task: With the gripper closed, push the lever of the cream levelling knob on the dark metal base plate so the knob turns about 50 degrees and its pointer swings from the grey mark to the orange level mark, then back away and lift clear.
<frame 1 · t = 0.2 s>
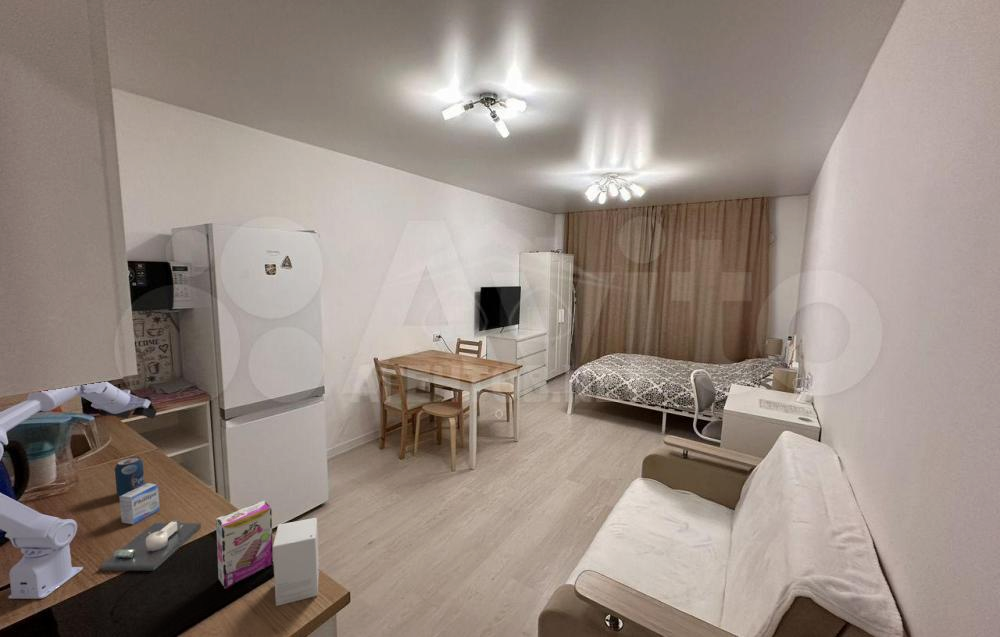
hand: (141, 414, 122), 32 cm above the table, tool tilted 50°, fingers open, 7 cm apart
soda can: (131, 494, 136), on the table
base plate: (154, 547, 111), on the table
supplement box: (298, 588, 99), on the table
medicine box: (141, 517, 124), on the table
candy bar box: (247, 573, 103), on the table
levelling knob: (163, 534, 112), point 3 cm above the table, hinge at 0.0°
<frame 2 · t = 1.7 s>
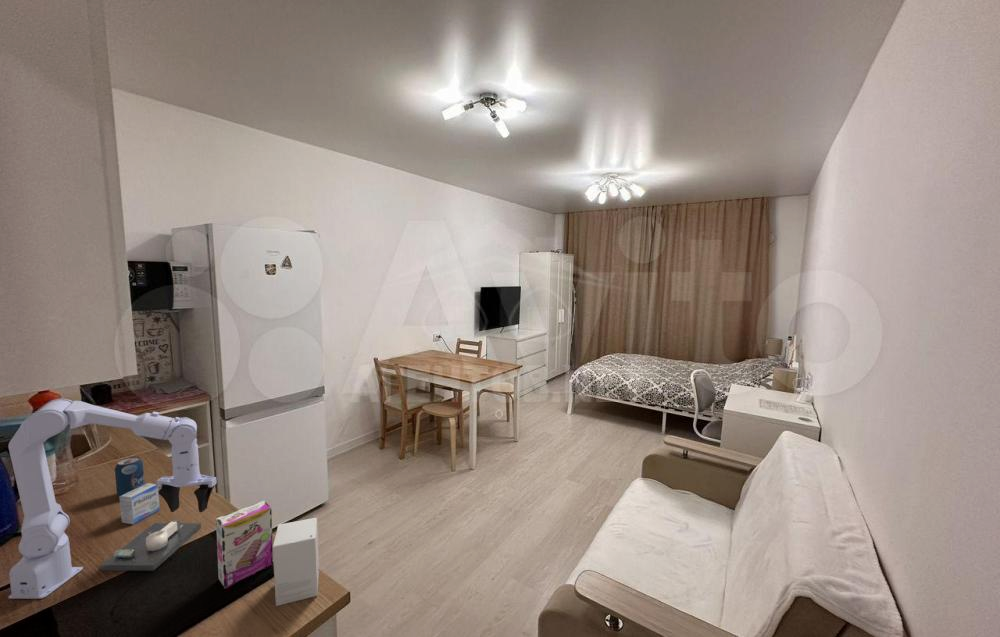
hand: (189, 510, 113), 9 cm above the table, tool pointing down, fingers open, 7 cm apart
nothing on the table moved.
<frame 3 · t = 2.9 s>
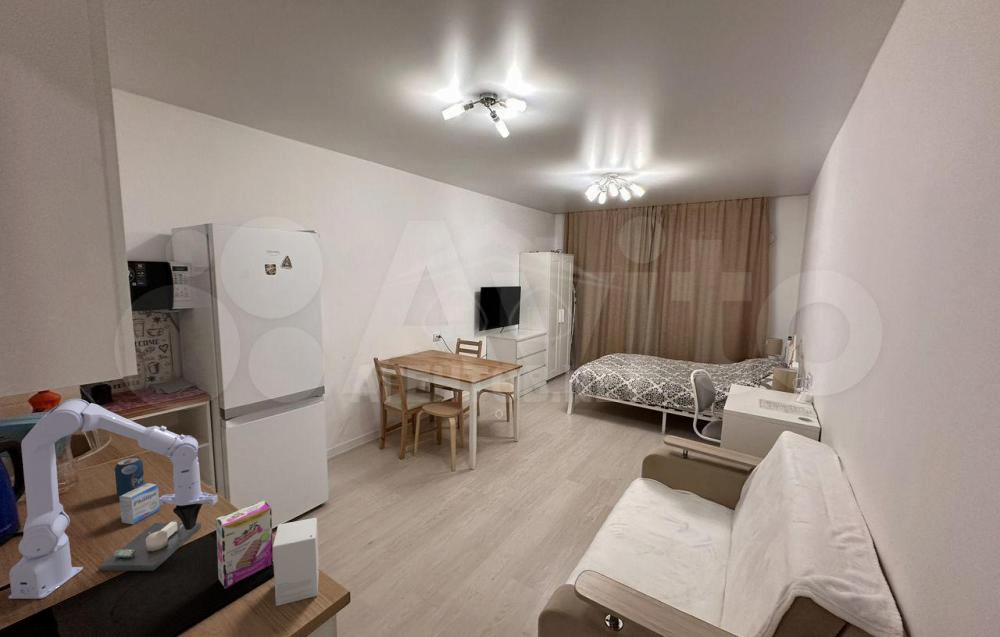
hand: (190, 527, 113), 4 cm above the table, tool pointing down, fingers closed
nothing on the table moved.
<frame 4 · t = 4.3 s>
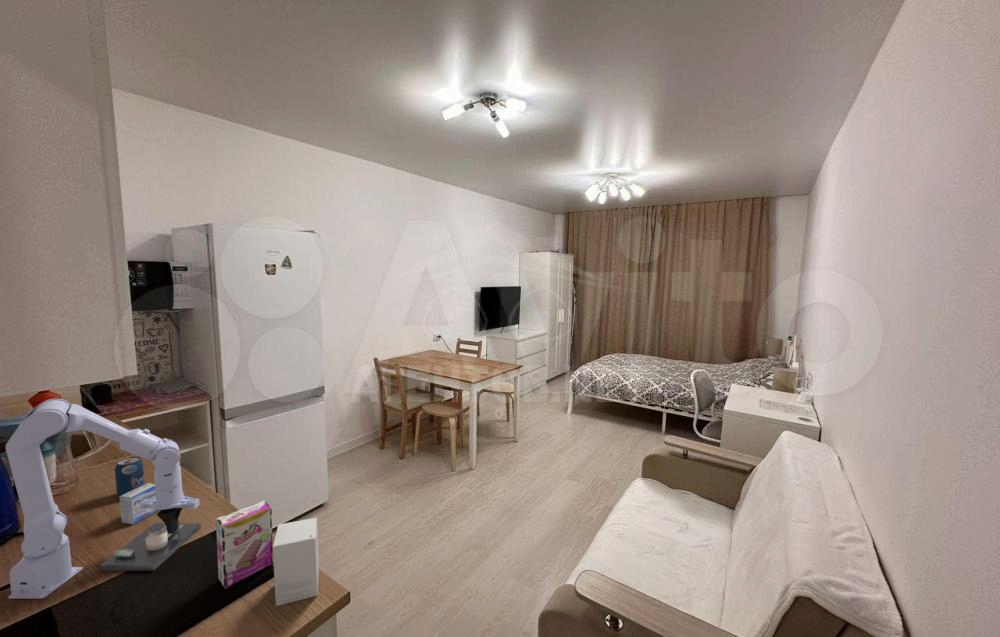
hand: (172, 531, 113), 3 cm above the table, tool pointing down, fingers closed, pressing on levelling knob
levelling knob: (163, 534, 112), point 3 cm above the table, hinge at 0.4°, touching gripper
everything else where it was.
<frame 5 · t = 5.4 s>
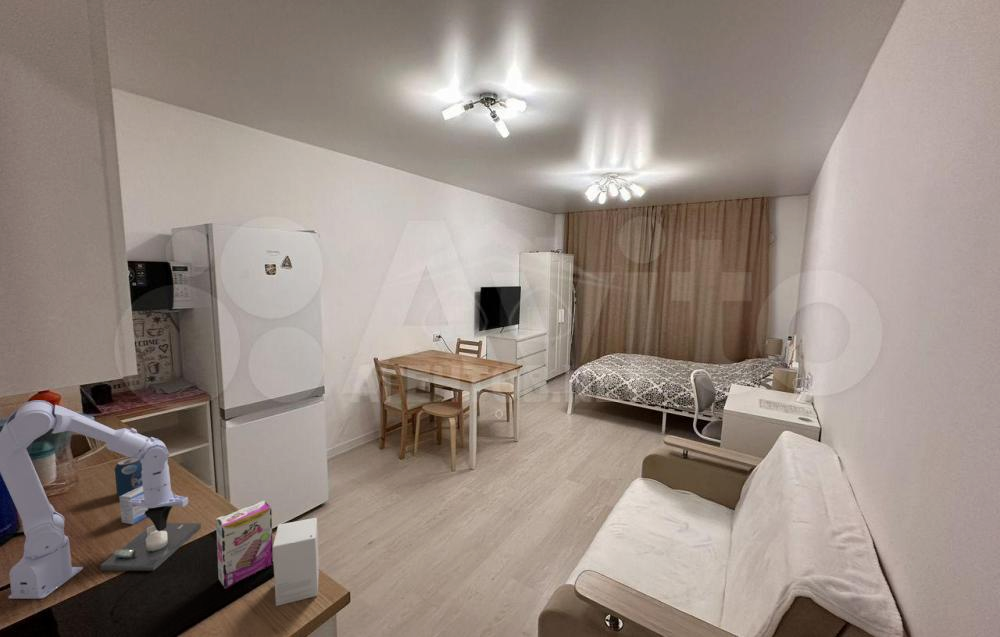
hand: (161, 529, 113), 3 cm above the table, tool pointing down, fingers closed, pressing on levelling knob
levelling knob: (154, 537, 111), point 3 cm above the table, hinge at 50.9°, touching gripper
everything else where it was.
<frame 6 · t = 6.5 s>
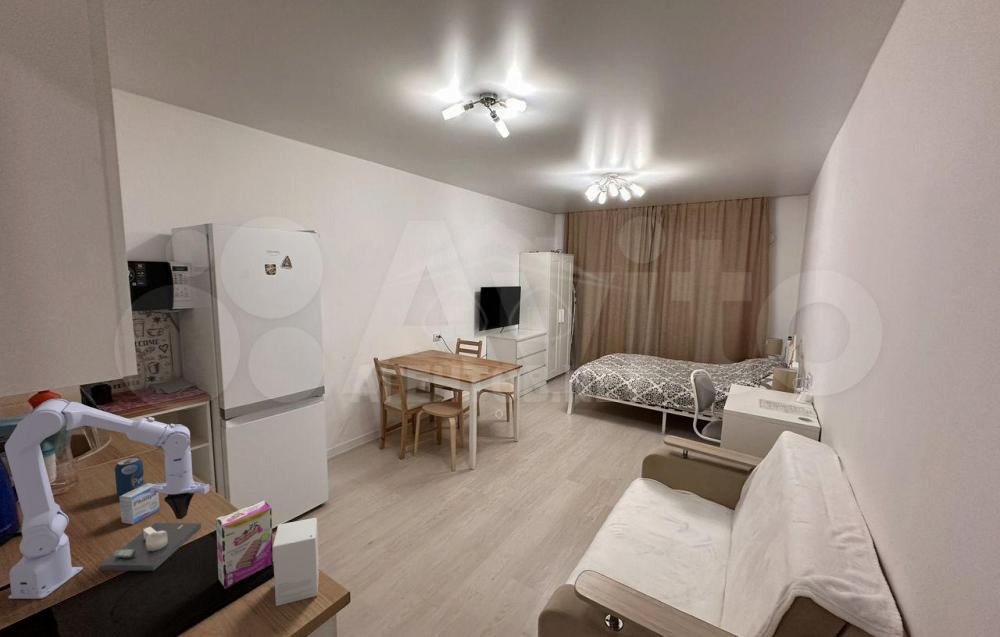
hand: (181, 517, 113), 7 cm above the table, tool pointing down, fingers closed
levelling knob: (153, 537, 110), point 3 cm above the table, hinge at 57.7°
everything else where it was.
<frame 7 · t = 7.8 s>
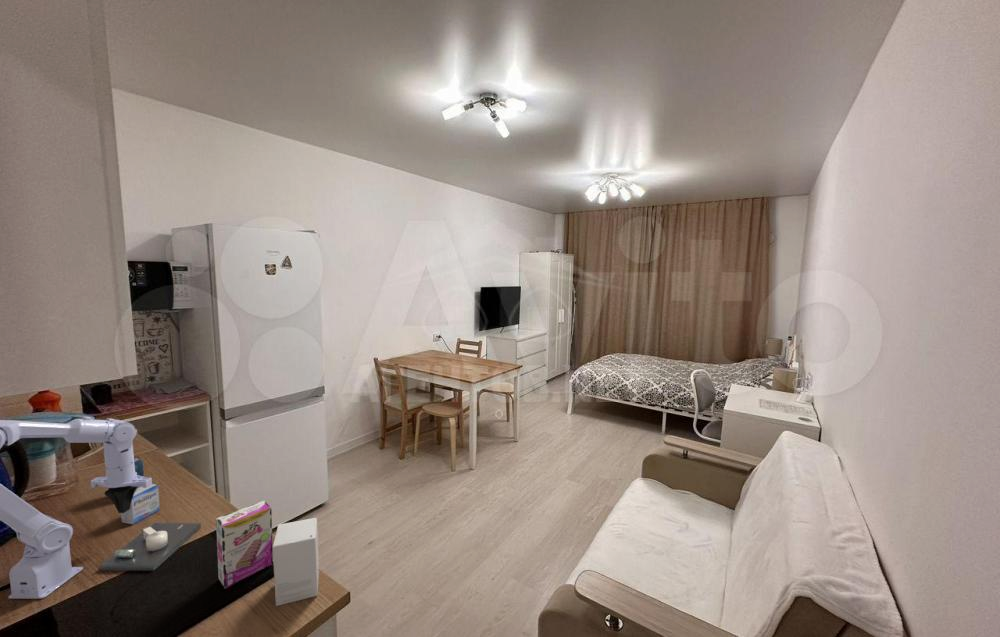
hand: (124, 510, 111), 9 cm above the table, tool pointing down, fingers closed
levelling knob: (152, 537, 110), point 3 cm above the table, hinge at 58.1°
everything else where it was.
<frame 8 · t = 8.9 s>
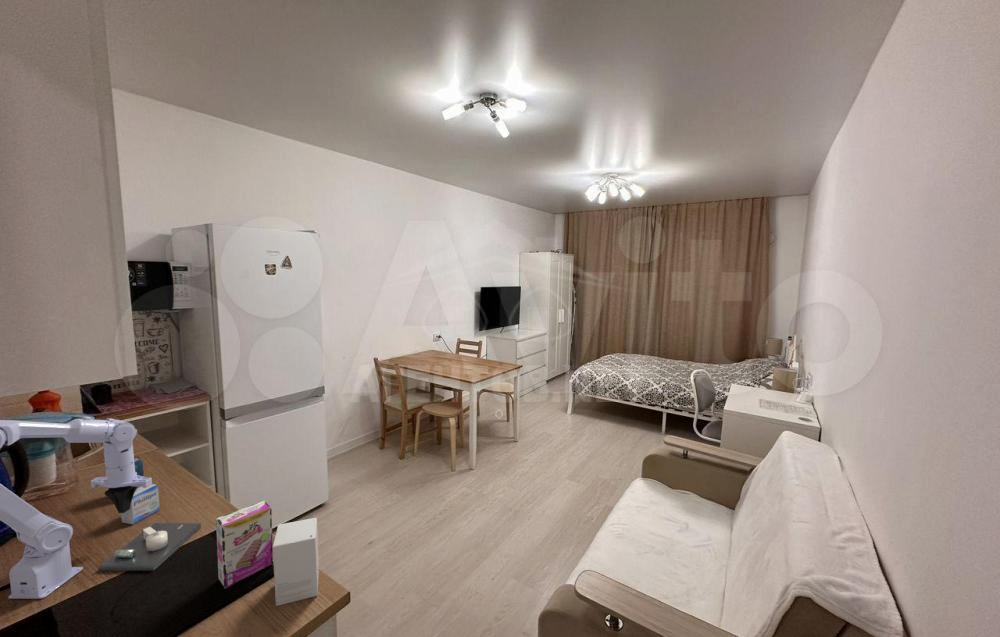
hand: (124, 510, 111), 9 cm above the table, tool pointing down, fingers closed
nothing on the table moved.
at the end: levelling knob at +58° (first picture: +0°) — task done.
